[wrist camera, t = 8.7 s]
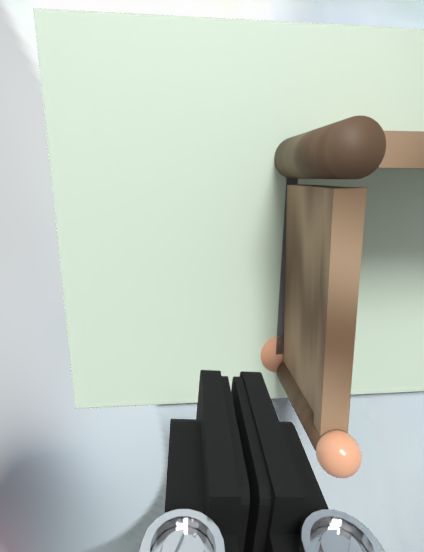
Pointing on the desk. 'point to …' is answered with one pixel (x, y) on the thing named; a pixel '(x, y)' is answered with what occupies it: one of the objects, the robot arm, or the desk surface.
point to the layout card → (217, 195)
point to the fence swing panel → (323, 316)
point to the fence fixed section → (349, 150)
